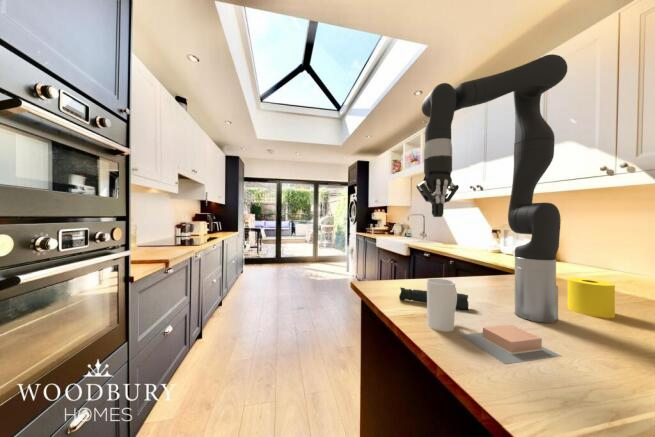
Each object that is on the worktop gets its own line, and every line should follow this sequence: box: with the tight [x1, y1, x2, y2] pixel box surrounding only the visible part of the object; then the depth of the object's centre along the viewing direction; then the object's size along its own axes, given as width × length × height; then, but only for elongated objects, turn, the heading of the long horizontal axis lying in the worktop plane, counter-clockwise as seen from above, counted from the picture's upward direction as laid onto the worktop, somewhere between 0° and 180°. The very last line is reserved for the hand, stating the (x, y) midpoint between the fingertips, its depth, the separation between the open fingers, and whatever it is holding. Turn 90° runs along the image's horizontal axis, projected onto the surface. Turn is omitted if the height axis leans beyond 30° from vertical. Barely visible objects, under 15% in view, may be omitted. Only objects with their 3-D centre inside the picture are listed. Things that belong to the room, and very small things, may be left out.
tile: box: [482, 324, 543, 354], centre depth 55 cm, size 2×7×8 cm
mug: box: [426, 277, 457, 333], centre depth 64 cm, size 10×7×12 cm, turn 119°
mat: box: [458, 332, 562, 365], centre depth 54 cm, size 14×12×1 cm
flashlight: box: [398, 287, 469, 311], centre depth 81 cm, size 5×21×5 cm, turn 64°
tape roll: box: [567, 277, 616, 319], centre depth 76 cm, size 10×10×9 cm
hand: (437, 216), depth 71 cm, fingers closed
